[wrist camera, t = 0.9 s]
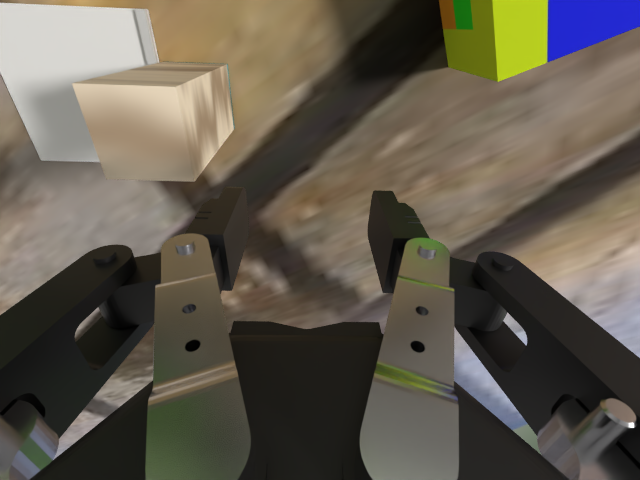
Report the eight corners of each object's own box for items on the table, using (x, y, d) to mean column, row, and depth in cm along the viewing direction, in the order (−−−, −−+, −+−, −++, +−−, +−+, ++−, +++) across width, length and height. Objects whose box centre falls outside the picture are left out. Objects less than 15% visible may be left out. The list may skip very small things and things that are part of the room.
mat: (-30, 1, 27) (-38, 1, 27) (148, 9, 28) (144, 8, 27) (42, 159, 35) (37, 162, 35) (181, 163, 36) (178, 165, 35)
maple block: (163, 61, 30) (71, 83, 19) (227, 63, 31) (175, 86, 19) (177, 126, 34) (106, 179, 22) (234, 128, 34) (194, 181, 22)
